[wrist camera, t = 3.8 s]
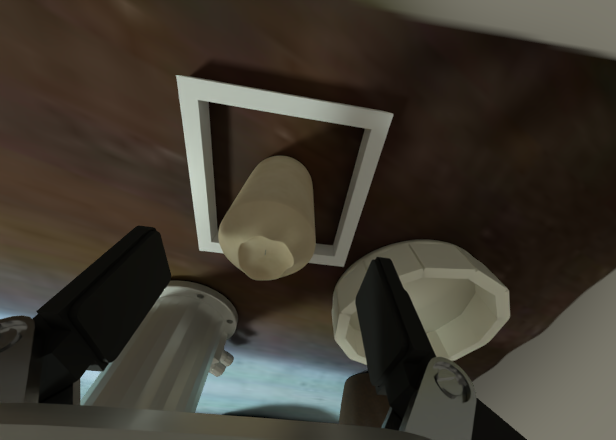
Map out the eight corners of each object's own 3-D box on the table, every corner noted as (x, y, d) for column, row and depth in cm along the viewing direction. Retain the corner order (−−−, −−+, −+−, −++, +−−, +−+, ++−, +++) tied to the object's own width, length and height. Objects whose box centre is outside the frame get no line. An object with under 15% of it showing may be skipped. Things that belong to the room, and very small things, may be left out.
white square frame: (385, 111, 17) (393, 113, 15) (341, 255, 24) (343, 266, 23) (189, 76, 15) (176, 75, 14) (206, 239, 23) (199, 250, 21)
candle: (250, 150, 18) (201, 208, 10) (316, 158, 18) (324, 221, 10) (251, 208, 21) (213, 293, 12) (308, 214, 21) (309, 300, 13)
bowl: (486, 315, 30) (511, 348, 26) (360, 348, 34) (367, 380, 30) (472, 213, 21) (506, 240, 18) (308, 274, 26) (308, 306, 22)
